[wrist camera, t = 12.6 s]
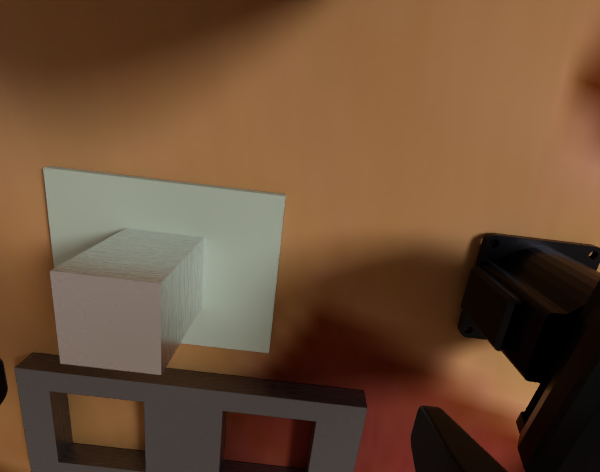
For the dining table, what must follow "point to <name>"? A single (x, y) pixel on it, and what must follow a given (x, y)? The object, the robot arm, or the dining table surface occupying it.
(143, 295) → the steel peg
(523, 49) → the dining table surface
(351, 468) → the grey flat frame
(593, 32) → the dining table surface
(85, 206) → the sage mat
